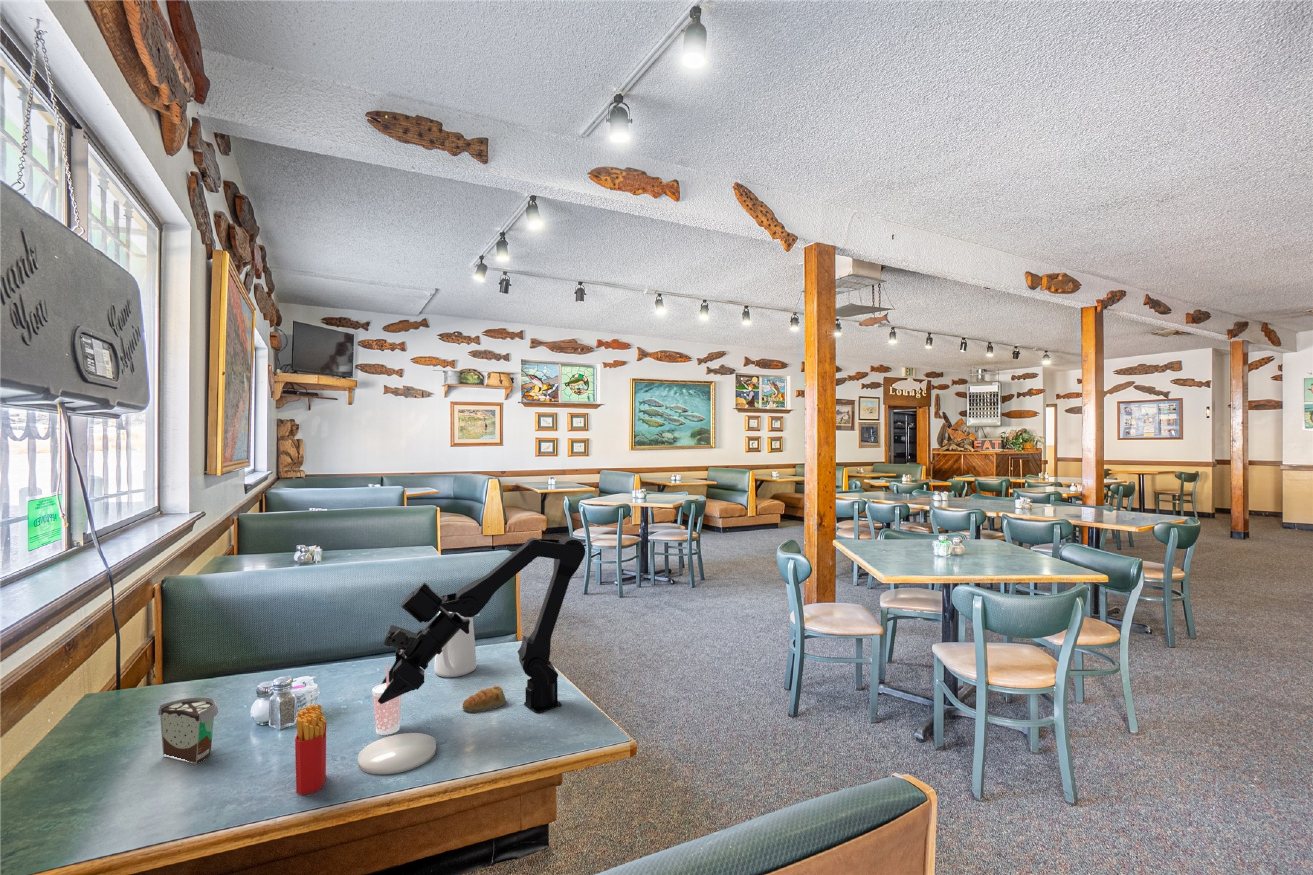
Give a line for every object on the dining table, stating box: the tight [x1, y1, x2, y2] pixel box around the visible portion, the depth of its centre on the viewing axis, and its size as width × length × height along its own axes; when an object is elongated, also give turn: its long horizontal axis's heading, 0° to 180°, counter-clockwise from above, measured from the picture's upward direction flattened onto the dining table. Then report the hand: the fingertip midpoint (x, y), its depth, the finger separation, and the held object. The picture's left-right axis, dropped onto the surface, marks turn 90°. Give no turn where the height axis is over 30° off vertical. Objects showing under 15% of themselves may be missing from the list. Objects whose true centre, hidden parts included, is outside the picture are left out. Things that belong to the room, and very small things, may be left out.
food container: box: [157, 696, 219, 765], centre depth 123 cm, size 12×6×10 cm, turn 71°
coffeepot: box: [433, 611, 477, 678], centre depth 168 cm, size 11×25×19 cm, turn 6°
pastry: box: [462, 685, 507, 713], centre depth 144 cm, size 9×7×4 cm
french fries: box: [294, 703, 327, 796], centre depth 112 cm, size 9×4×13 cm, turn 20°
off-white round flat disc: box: [357, 732, 437, 775], centre depth 121 cm, size 14×14×1 cm
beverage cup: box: [371, 663, 402, 736], centre depth 132 cm, size 6×6×14 cm
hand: (380, 694), depth 132 cm, fingers open, 9 cm apart
